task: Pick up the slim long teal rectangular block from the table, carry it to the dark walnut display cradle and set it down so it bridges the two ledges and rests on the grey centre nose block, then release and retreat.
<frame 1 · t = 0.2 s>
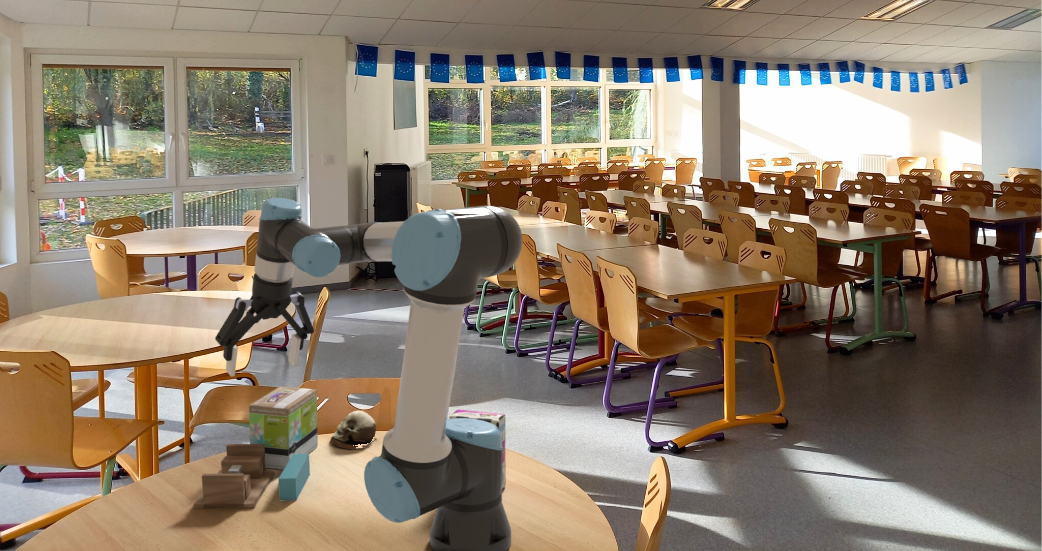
hand: (262, 368, 177), 26 cm above the table, tool tilted 15°, fingers open, 13 cm apart
candy bar box: (478, 488, 183), on the table
cradle: (236, 490, 181), on the table
long teal rectangular block: (295, 488, 183), on the table
skull: (355, 442, 210), on the table
tea box: (285, 457, 199), on the table
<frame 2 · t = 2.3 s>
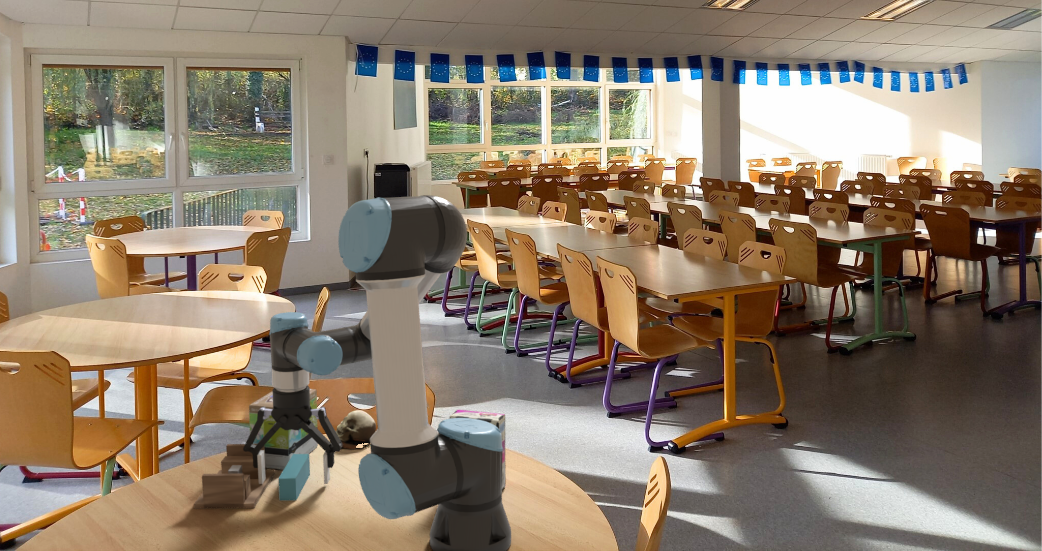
hand: (294, 481, 183), 1 cm above the table, tool pointing down, fingers open, 13 cm apart
nothing on the table moved.
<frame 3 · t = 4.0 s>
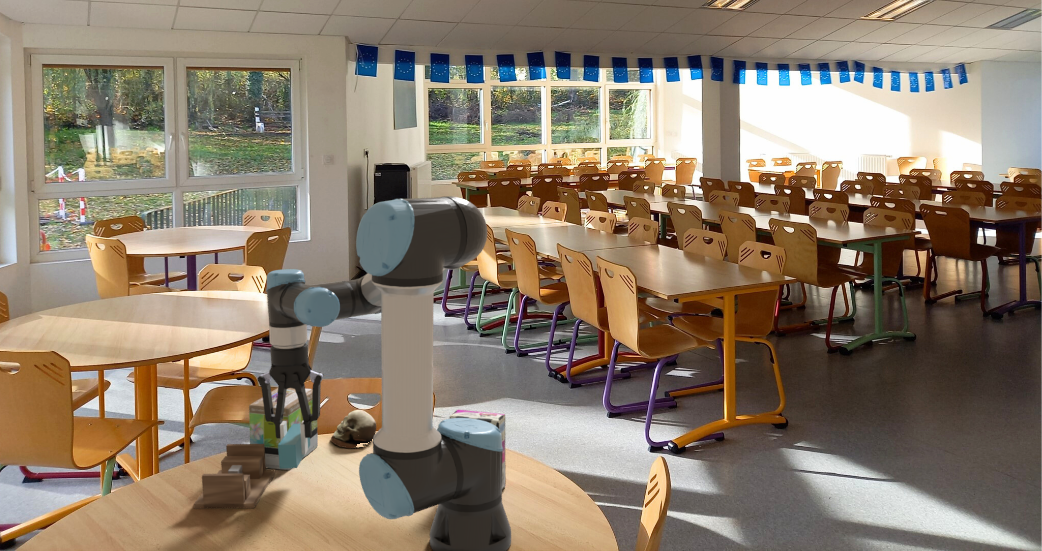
hand: (294, 452, 181), 8 cm above the table, tool pointing down, fingers closed on long teal rectangular block, 3 cm apart
long teal rectangular block: (295, 456, 181), point 7 cm above the table, touching gripper
everything else where it was.
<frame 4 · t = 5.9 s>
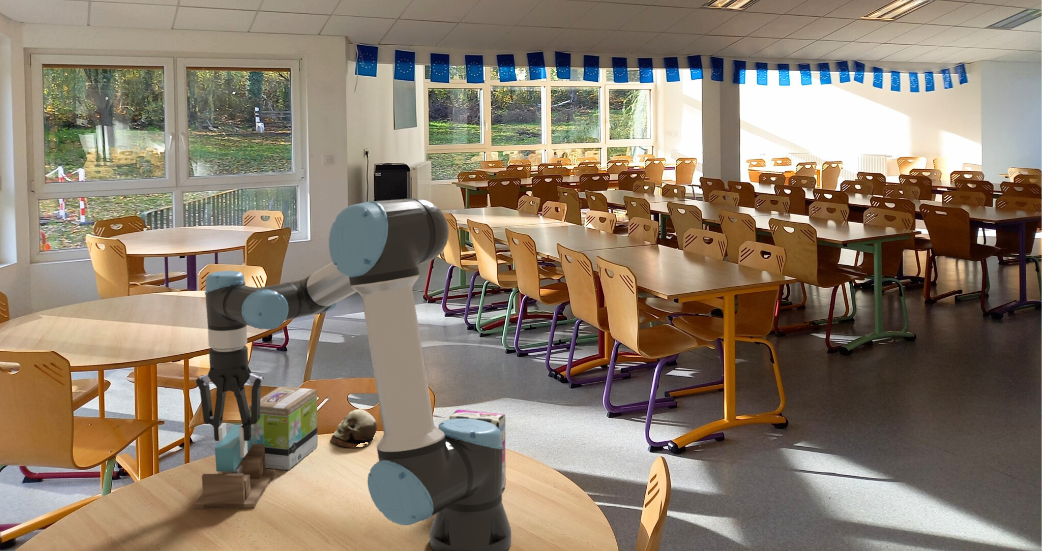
hand: (233, 454, 180), 8 cm above the table, tool pointing down, fingers closed on long teal rectangular block, 3 cm apart
long teal rectangular block: (234, 458, 180), point 7 cm above the table, touching gripper
everything else where it was.
when the fingers open (5 cm above the table, at t = 6.6 s): long teal rectangular block stays where it is, resting on cradle.
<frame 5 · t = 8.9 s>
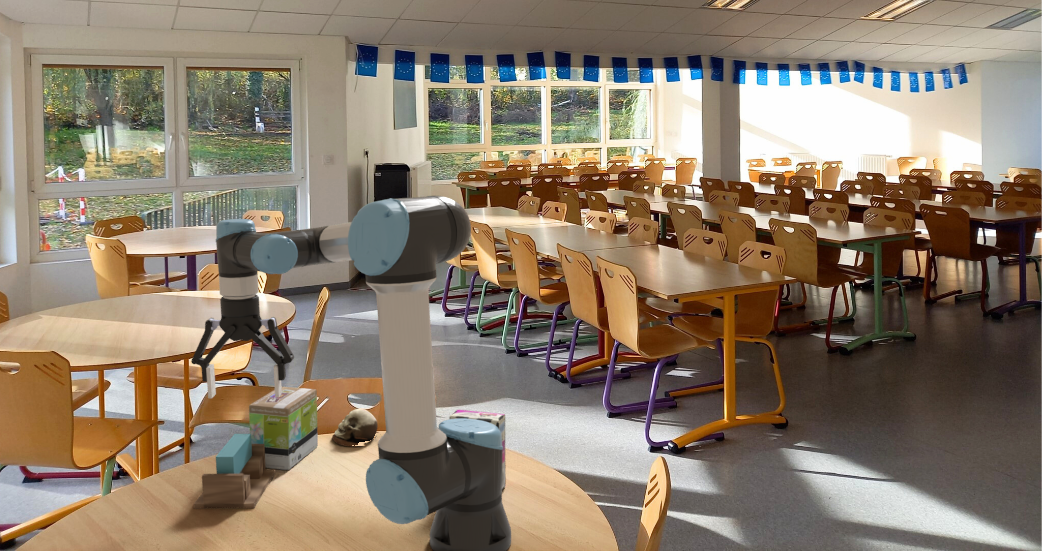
hand: (245, 395, 178), 21 cm above the table, tool pointing down, fingers open, 13 cm apart
long teal rectangular block: (235, 467, 180), point 5 cm above the table, touching cradle
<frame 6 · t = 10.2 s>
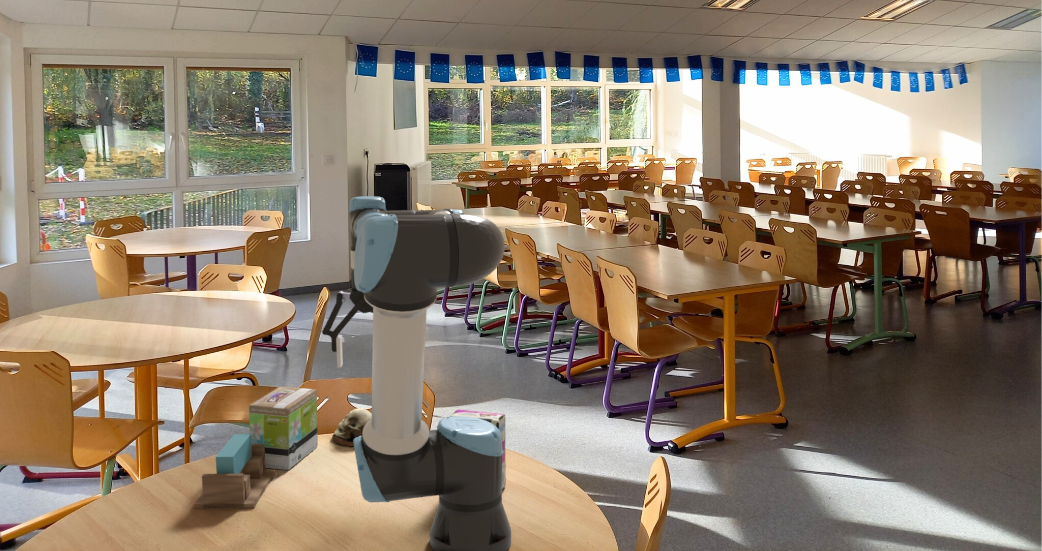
hand: (371, 366, 186), 25 cm above the table, tool pointing down, fingers open, 13 cm apart
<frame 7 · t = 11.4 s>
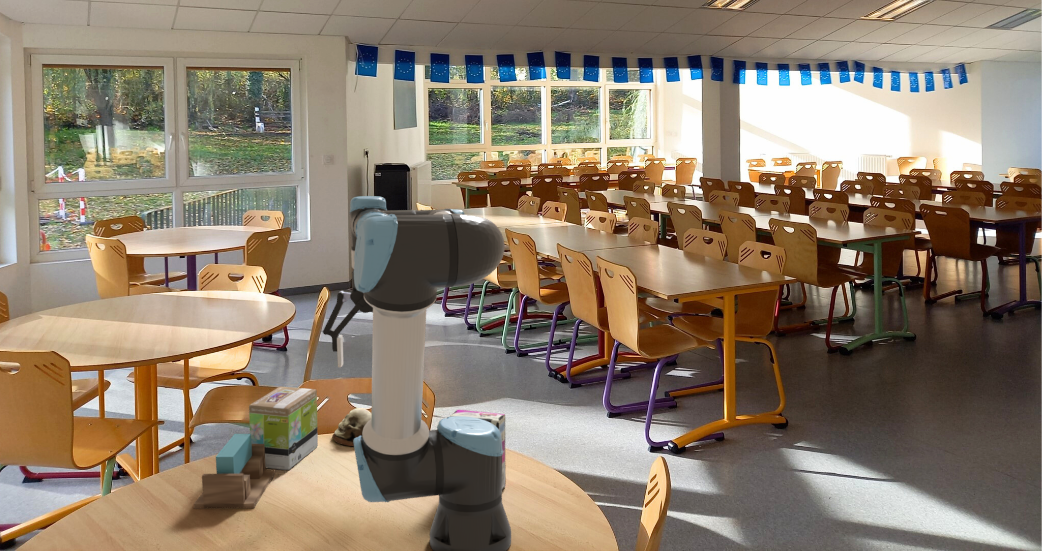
hand: (372, 365, 186), 25 cm above the table, tool pointing down, fingers open, 13 cm apart
at the end: long teal rectangular block 0.4 cm off-centre on the cradle, point 5.0 cm above the cradle's base; long teal rectangular block touching cradle; long teal rectangular block tilted 0° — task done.
